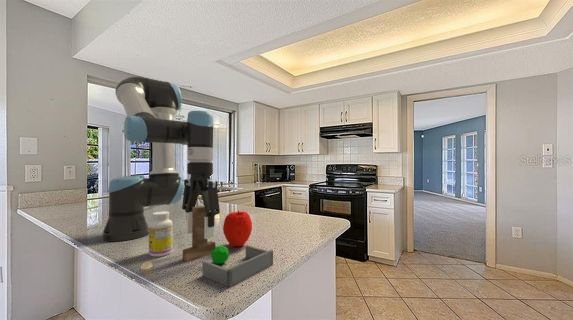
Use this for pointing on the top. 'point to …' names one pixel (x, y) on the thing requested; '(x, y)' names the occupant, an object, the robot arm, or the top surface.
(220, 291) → the top surface
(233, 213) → the apple
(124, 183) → the robot arm
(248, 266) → the tray
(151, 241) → the supplement bottle
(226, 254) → the polyhedron
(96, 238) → the top surface
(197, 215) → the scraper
